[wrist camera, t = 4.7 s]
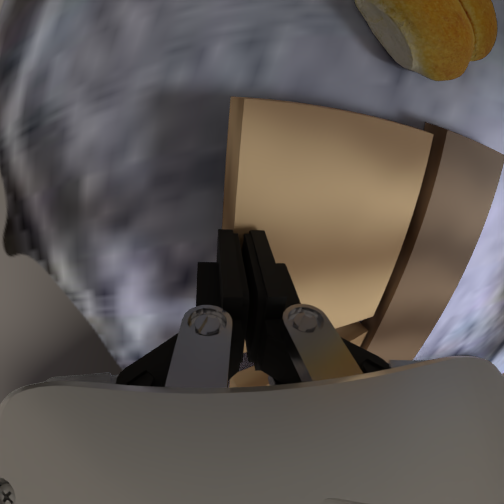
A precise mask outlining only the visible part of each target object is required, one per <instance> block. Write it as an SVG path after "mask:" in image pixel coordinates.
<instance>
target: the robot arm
mask: <svg viewBox="0 0 504 504" xmlns="http://www.w3.org/2000/svg"><path fill="white" fill-rule="evenodd" d="M245 343H246V349H247V356H248V361H249V362H254V367H255V371H260V370H261V371H263V372H264V373H266V374H267V375H269V376H268V381H269V386H253V387H229V388H228V380H229V379H231V378H232V377H233V376H234V375H235V374H236V373H237V372H238V371H239V366H240V363H242V360H243V352H244V344H245ZM0 504H504V376H503V375H502V374H501V372H500V371H499V370H498V369H497V368H496V366H495V365H494V364H492V363H491V362H490V361H488V360H485V359H483V358H479V357H473V356H450V357H443V358H438V359H432V360H389V361H388V363H387V362H386V361H385V360H384V359H382V358H380V357H379V356H377V355H375V354H373V353H371V352H369V351H367V350H365V349H363V348H361V347H359V346H357V345H355V344H353V343H351V342H349V341H347V340H346V339H344V338H342V337H340V336H339V334H338V333H337V331H336V329H335V328H334V326H333V325H332V323H331V322H330V320H329V319H328V317H327V316H326V314H325V313H324V312H323V311H322V310H320V309H319V308H317V307H314V306H312V305H308V304H301V302H300V300H299V297H298V295H297V292H296V289H295V287H294V284H293V282H292V279H291V276H290V274H289V271H288V269H287V266H286V264H284V263H276V262H275V259H274V256H273V254H272V251H271V248H270V245H269V242H268V239H267V236H266V234H265V231H264V230H250V231H249V234H244V238H243V249H242V251H241V246H240V240H239V235H238V233H233V230H229V229H218V245H217V262H198V271H197V295H196V307H194V308H192V309H190V310H189V311H187V312H186V313H185V315H184V317H183V319H182V322H181V326H180V330H179V333H178V334H176V335H175V336H173V337H172V338H170V339H169V340H167V341H166V342H164V343H163V344H161V345H160V346H158V347H157V348H155V349H154V350H152V351H151V352H149V353H148V354H146V355H145V356H143V357H142V358H140V359H139V360H137V361H136V362H134V363H133V364H131V365H129V366H128V367H126V368H125V369H124V370H123V371H122V372H120V374H119V375H114V376H111V374H110V372H109V373H99V374H88V375H77V376H76V375H75V376H61V377H53V378H50V379H48V380H47V381H45V382H42V383H36V384H31V385H27V386H24V387H21V388H19V389H16V390H14V391H13V392H11V393H10V394H9V395H8V396H7V397H6V398H5V399H4V400H3V402H2V403H1V404H0Z"/></svg>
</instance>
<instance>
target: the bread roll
mask: <svg viewBox="0 0 504 504" xmlns="http://www.w3.org/2000/svg"><path fill="white" fill-rule="evenodd" d="M355 4H356V6H357V8H358V10H359V11H360V12H361V14H362V15H363V17H364V18H365V20H366V21H367V23H368V25H369V27H370V29H371V31H372V32H373V34H374V35H375V36H376V37H377V39H378V40H379V42H380V43H381V44H382V45H383V47H384V48H385V49H386V51H387V52H388V53H389V54H390V55H391V57H392V58H393V59H394V60H395V61H396V62H397V63H398V64H399V65H401V66H402V67H403V68H406V69H409V70H412V71H415V72H417V73H419V74H421V75H423V76H425V77H427V78H429V79H432V80H435V81H444V80H452V79H455V78H457V77H460V76H461V75H462V74H463V73H464V72H465V70H466V68H467V66H468V64H469V62H470V61H476V60H480V59H483V58H484V57H486V56H487V55H488V54H489V52H490V51H491V49H492V47H493V46H494V43H495V40H496V36H497V20H496V14H495V10H494V7H493V4H492V1H491V0H355Z"/></svg>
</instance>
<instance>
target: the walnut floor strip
mask: <svg viewBox="0 0 504 504" xmlns="http://www.w3.org/2000/svg"><path fill="white" fill-rule="evenodd" d="M424 131H426V132H429V133H432V134H434V135H433V140H432V144H431V149H430V153H429V157H428V162H427V166H426V170H425V174H424V177H423V181H422V185H421V188H420V192H419V195H418V199H417V202H416V205H415V209H414V212H413V215H412V218H411V221H410V224H409V227H408V230H407V233H406V236H405V239H404V242H403V245H402V247H401V250H400V253H399V256H398V258H397V261H396V263H395V266H394V269H393V271H392V274H391V276H390V279H389V281H388V283H387V286H386V288H385V291H384V293H383V295H382V298H381V300H380V302H379V304H378V307H377V309H376V311H375V313H374V315H373V317H370V318H367V319H364V320H363V321H362V323H361V324H362V325H363V326H364V327H365V328H366V329H367V330H368V332H367V334H366V336H365V338H364V340H363V342H362V344H361V346H360V347H361V348H363V349H365V350H367V351H369V352H371V353H373V354H375V355H377V356H379V357H380V358H382V359H384V360H385V361H386V362H387V363H388V361H389V360H413V359H414V357H415V356H416V354H417V353H418V351H419V350H420V348H421V347H422V345H423V344H424V342H425V341H426V339H427V338H428V336H429V334H430V333H431V331H432V330H433V328H434V326H435V325H436V323H437V321H438V320H439V318H440V316H441V314H442V313H443V311H444V309H445V307H446V306H447V304H448V302H449V300H450V298H451V297H452V295H453V293H454V291H455V289H456V287H457V285H458V283H459V281H460V279H461V277H462V275H463V273H464V271H465V269H466V267H467V264H468V262H469V260H470V258H471V256H472V253H473V251H474V249H475V246H476V244H477V242H478V239H479V237H480V234H481V232H482V229H483V227H484V224H485V221H486V219H487V216H488V213H489V210H490V207H491V204H492V201H493V198H494V195H495V192H496V189H497V185H498V182H499V179H500V175H501V171H502V168H503V164H504V155H503V154H501V153H499V152H497V151H495V150H493V149H491V148H489V147H487V146H485V145H483V144H480V143H478V142H476V141H474V140H471V139H469V138H467V137H464V136H462V135H460V134H457V133H455V132H452V131H450V130H447V129H444V128H442V127H439V126H436V125H433V124H430V123H427V122H425V127H424Z"/></svg>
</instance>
